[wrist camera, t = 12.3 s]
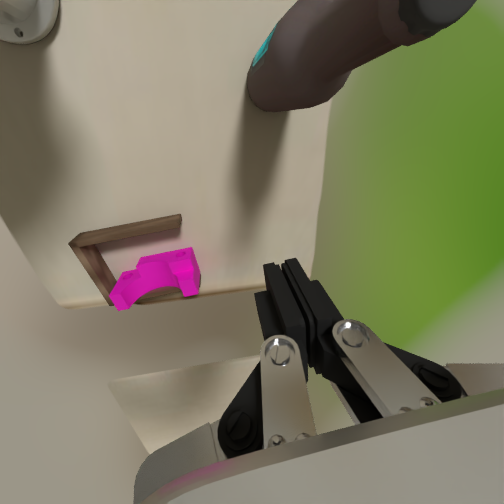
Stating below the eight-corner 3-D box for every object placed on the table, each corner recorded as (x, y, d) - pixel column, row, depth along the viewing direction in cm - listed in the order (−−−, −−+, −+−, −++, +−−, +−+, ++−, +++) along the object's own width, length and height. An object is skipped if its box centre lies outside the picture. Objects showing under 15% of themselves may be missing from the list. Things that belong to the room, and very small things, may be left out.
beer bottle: (287, 39, 31) (620, -320, 6) (300, 100, 35) (534, 47, 10) (237, 63, 32) (343, -168, 6) (256, 120, 36) (369, 122, 10)
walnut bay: (80, 233, 40) (68, 243, 37) (180, 213, 41) (177, 222, 38) (117, 293, 48) (109, 306, 45) (200, 275, 49) (200, 287, 46)
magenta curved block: (192, 246, 45) (188, 267, 39) (200, 271, 49) (198, 293, 42) (117, 261, 45) (101, 285, 38) (130, 285, 48) (118, 310, 41)
